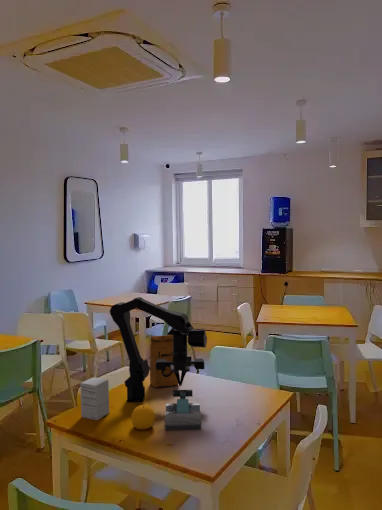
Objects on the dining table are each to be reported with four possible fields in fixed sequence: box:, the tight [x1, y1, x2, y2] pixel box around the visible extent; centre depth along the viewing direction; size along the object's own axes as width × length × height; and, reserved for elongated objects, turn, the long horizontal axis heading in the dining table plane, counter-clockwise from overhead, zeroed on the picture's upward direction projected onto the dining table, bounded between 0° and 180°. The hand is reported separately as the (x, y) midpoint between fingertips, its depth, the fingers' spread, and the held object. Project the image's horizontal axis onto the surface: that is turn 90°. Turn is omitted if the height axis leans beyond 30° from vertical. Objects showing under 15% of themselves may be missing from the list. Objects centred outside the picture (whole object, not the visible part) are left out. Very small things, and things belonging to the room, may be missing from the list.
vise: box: [164, 410, 202, 431], centre depth 152 cm, size 12×18×5 cm, turn 1°
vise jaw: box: [165, 389, 201, 412], centre depth 154 cm, size 12×6×7 cm, turn 91°
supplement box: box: [80, 377, 110, 421], centre depth 156 cm, size 7×7×13 cm
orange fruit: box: [130, 404, 156, 430], centre depth 145 cm, size 8×8×8 cm
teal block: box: [176, 398, 190, 412], centre depth 148 cm, size 5×4×6 cm
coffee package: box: [149, 334, 179, 388], centre depth 188 cm, size 10×12×22 cm
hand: (180, 385), depth 167 cm, fingers closed
